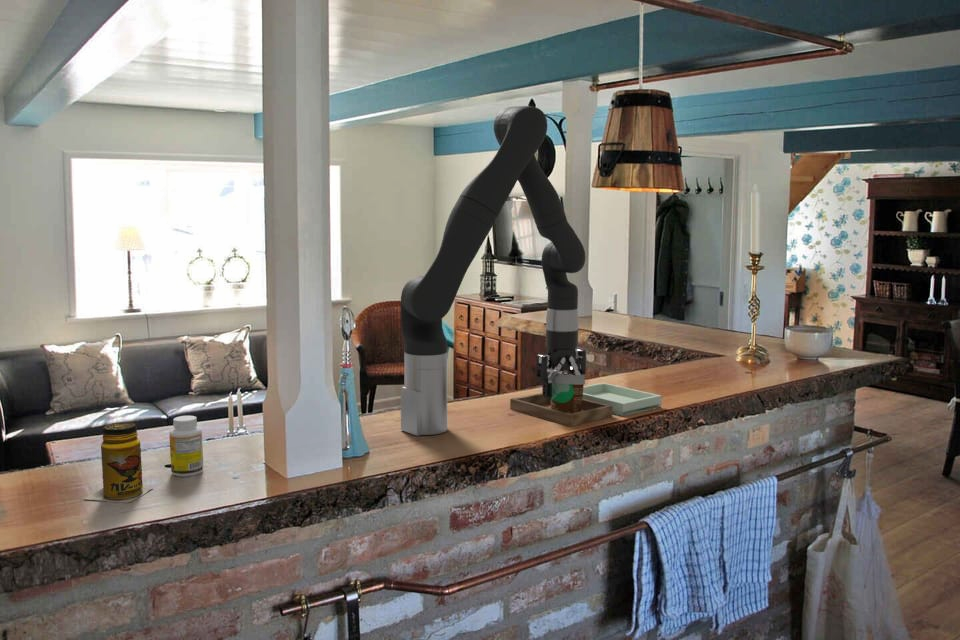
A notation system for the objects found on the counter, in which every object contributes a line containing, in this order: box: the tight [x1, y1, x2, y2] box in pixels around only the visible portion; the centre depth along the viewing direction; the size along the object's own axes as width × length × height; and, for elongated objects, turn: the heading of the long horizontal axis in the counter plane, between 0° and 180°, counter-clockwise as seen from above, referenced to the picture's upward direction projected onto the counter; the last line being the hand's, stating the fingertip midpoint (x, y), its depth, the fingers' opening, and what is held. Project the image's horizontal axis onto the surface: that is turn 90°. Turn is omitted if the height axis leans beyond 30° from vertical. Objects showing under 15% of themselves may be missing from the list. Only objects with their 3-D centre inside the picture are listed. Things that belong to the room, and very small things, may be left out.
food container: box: [548, 368, 586, 414], centre depth 196 cm, size 12×6×10 cm, turn 21°
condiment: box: [83, 421, 155, 504], centre depth 139 cm, size 7×8×12 cm
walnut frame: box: [509, 392, 613, 427], centre depth 196 cm, size 14×20×2 cm
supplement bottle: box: [169, 415, 204, 478], centre depth 150 cm, size 6×6×10 cm
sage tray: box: [583, 382, 662, 417], centre depth 205 cm, size 14×19×3 cm
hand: (560, 395), depth 196 cm, fingers open, 8 cm apart
